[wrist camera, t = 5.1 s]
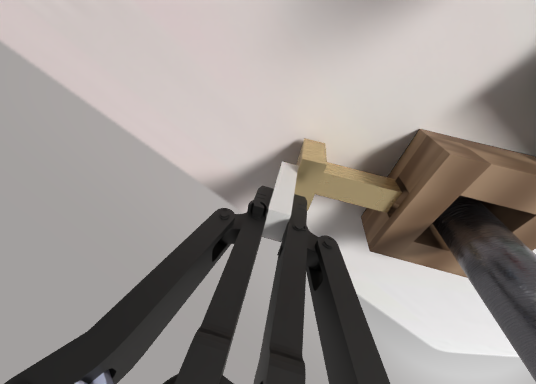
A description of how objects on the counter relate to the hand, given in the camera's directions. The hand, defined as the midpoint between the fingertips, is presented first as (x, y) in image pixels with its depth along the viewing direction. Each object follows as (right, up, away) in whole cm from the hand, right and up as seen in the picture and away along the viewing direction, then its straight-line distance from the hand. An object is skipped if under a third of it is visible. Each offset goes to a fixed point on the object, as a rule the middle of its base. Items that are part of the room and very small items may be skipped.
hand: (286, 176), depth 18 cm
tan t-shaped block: (+6, +1, +2) cm, 6 cm away
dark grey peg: (+16, -2, +2) cm, 16 cm away
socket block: (+16, -2, +2) cm, 16 cm away
